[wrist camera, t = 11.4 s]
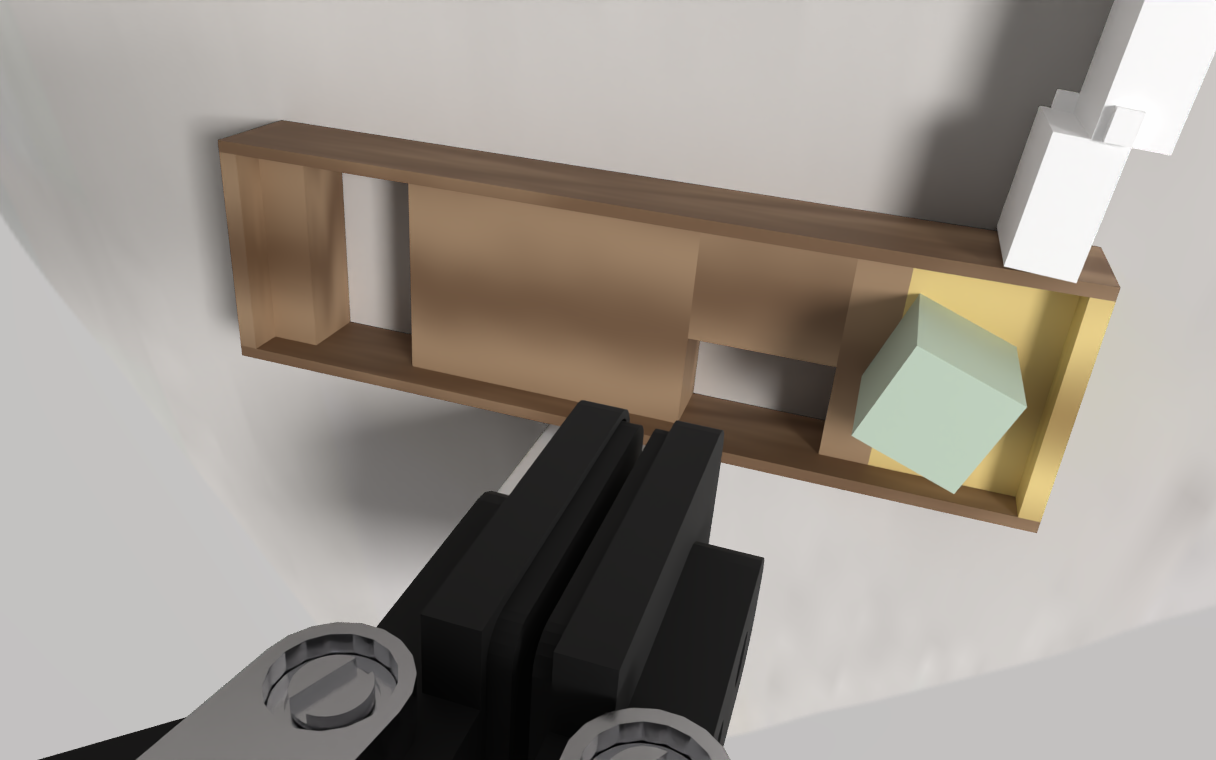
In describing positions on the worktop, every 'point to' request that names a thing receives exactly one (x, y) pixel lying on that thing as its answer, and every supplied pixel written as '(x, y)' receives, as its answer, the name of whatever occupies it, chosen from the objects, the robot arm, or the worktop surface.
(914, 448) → the block
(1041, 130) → the napkin holder
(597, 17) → the worktop surface
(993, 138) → the worktop surface
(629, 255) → the box
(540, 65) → the worktop surface
